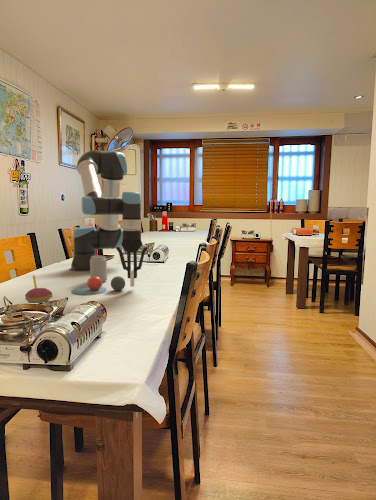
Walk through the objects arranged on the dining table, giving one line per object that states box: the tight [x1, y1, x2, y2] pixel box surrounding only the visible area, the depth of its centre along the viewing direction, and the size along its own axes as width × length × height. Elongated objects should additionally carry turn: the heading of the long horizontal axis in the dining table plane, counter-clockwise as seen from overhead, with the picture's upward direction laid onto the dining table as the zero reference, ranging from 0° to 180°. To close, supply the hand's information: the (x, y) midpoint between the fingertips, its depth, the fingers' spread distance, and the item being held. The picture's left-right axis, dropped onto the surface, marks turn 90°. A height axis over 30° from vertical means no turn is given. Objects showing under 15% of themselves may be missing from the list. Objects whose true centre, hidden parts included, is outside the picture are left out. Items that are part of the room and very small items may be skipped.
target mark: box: [71, 285, 107, 296], centre depth 138 cm, size 14×14×1 cm
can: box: [89, 254, 108, 283], centre depth 154 cm, size 8×8×12 cm
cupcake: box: [24, 273, 53, 304], centre depth 114 cm, size 9×8×12 cm
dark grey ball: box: [110, 276, 126, 292], centre depth 139 cm, size 6×6×6 cm
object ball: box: [86, 276, 103, 291], centre depth 138 cm, size 6×6×6 cm
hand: (132, 285), depth 140 cm, fingers closed
